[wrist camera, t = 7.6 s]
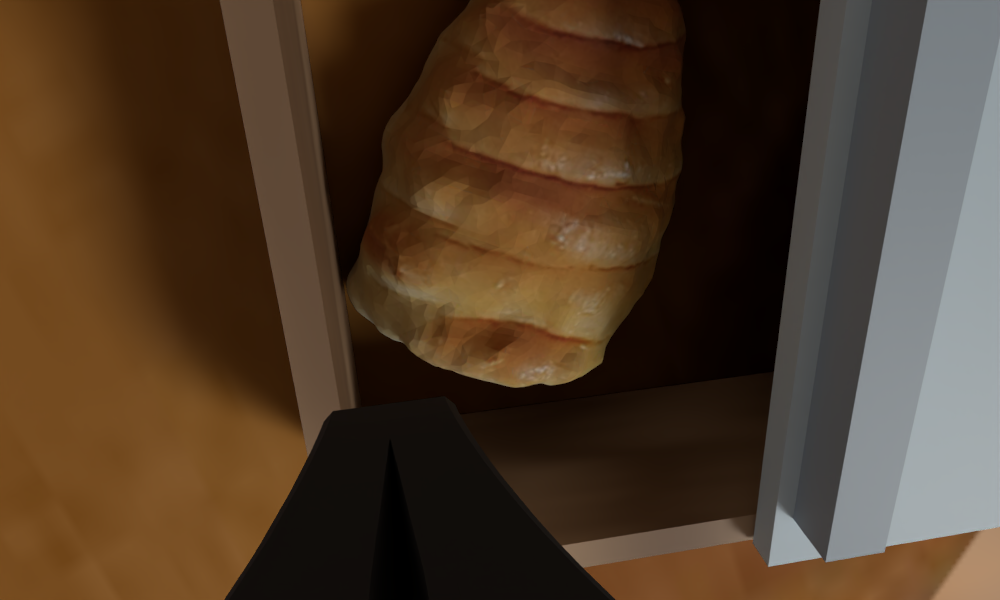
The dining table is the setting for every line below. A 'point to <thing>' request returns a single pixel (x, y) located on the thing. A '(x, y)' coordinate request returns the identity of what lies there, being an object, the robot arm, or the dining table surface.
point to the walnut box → (504, 432)
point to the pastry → (526, 187)
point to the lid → (890, 289)
